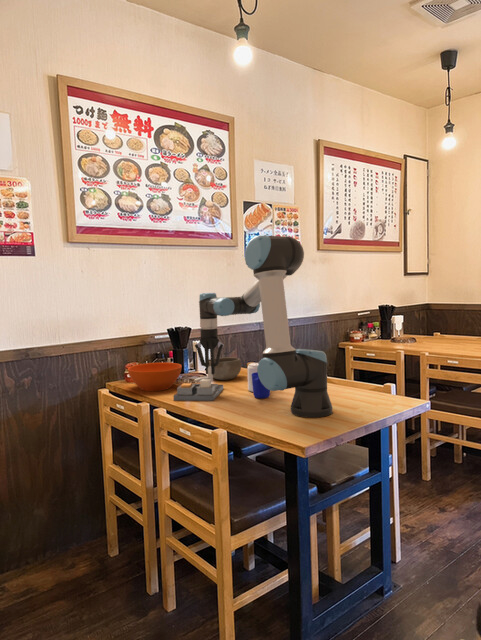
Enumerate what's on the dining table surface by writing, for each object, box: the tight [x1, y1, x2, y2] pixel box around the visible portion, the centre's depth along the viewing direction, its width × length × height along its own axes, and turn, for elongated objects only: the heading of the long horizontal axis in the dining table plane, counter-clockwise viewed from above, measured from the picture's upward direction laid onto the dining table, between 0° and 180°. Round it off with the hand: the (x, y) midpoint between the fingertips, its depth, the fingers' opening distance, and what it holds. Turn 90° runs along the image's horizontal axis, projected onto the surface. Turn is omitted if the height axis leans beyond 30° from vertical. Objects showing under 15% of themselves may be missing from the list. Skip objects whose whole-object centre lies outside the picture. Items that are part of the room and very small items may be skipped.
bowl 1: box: [127, 362, 183, 392], centre depth 218 cm, size 25×25×10 cm
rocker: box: [193, 375, 208, 383], centre depth 209 cm, size 3×8×1 cm, turn 81°
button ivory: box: [199, 379, 212, 388], centre depth 194 cm, size 4×4×4 cm
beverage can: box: [247, 362, 259, 393], centre depth 205 cm, size 8×8×12 cm
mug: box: [252, 372, 271, 400], centre depth 191 cm, size 8×12×10 cm
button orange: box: [180, 382, 193, 388], centre depth 195 cm, size 4×4×4 cm
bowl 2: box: [209, 356, 242, 381], centre depth 235 cm, size 17×18×10 cm
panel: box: [172, 383, 224, 402], centre depth 201 cm, size 22×17×5 cm
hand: (210, 381), depth 202 cm, fingers closed
